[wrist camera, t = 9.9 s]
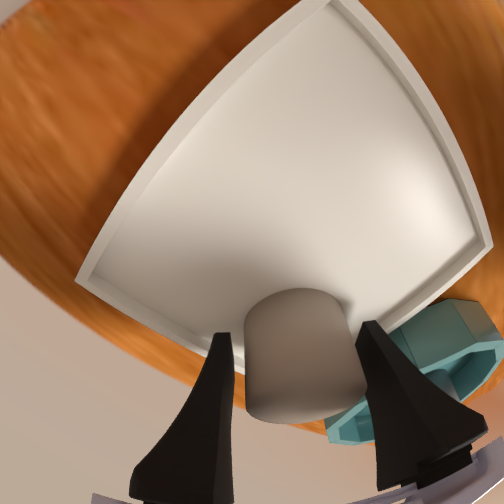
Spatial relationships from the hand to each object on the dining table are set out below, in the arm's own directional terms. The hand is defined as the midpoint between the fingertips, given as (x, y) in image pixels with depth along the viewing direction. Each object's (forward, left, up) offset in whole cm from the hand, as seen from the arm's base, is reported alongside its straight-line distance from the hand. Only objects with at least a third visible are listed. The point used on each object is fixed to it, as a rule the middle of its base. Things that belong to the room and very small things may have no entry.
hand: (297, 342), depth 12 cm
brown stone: (0, 0, -1) cm, 1 cm away
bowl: (-2, +12, -2) cm, 12 cm away
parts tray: (-3, -2, -2) cm, 4 cm away
